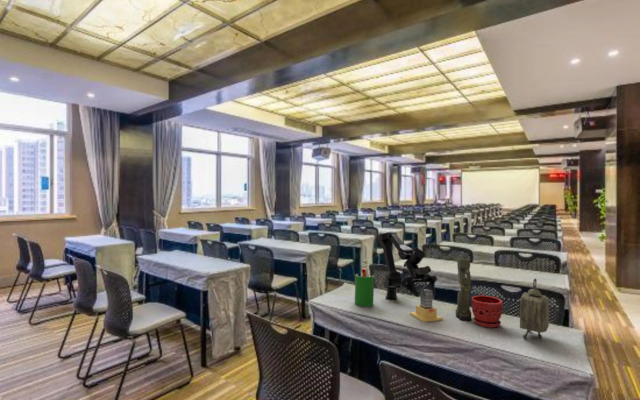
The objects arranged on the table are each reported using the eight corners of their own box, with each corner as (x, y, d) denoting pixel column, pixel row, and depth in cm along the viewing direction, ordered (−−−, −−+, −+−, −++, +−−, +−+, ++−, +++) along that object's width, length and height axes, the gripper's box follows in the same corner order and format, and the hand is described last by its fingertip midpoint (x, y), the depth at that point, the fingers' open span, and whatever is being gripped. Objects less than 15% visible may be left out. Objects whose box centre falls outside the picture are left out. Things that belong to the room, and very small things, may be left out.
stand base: (410, 314, 171) (410, 304, 171) (428, 312, 175) (428, 302, 175) (423, 322, 161) (423, 311, 161) (442, 319, 164) (442, 309, 164)
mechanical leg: (475, 322, 160) (473, 257, 167) (459, 320, 161) (457, 257, 168) (468, 319, 173) (467, 259, 180) (453, 318, 174) (452, 259, 181)
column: (420, 313, 169) (420, 289, 169) (427, 312, 170) (427, 288, 170) (425, 316, 165) (425, 291, 165) (432, 315, 167) (432, 291, 167)
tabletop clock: (525, 329, 155) (526, 274, 155) (548, 334, 149) (550, 277, 149) (519, 339, 143) (520, 279, 143) (544, 345, 138) (546, 283, 138)
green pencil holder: (372, 302, 190) (373, 266, 190) (373, 307, 182) (374, 269, 182) (354, 301, 191) (355, 265, 191) (354, 306, 183) (355, 268, 183)
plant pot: (477, 317, 169) (477, 293, 169) (505, 324, 160) (506, 299, 160) (466, 323, 160) (466, 298, 160) (496, 331, 151) (496, 304, 151)
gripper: (404, 260, 170) (416, 288, 160) (435, 259, 176) (449, 286, 166) (395, 273, 178) (407, 300, 167) (426, 271, 184) (438, 297, 173)
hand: (426, 296), depth 168 cm, fingers open, 9 cm apart
